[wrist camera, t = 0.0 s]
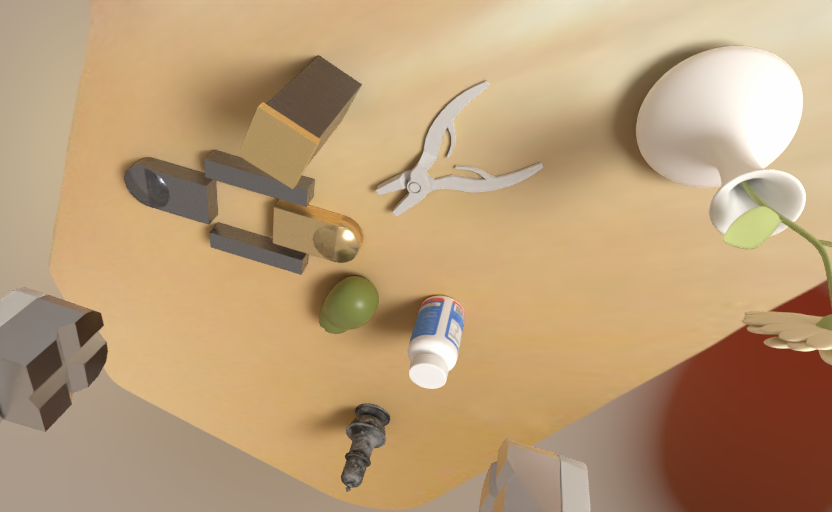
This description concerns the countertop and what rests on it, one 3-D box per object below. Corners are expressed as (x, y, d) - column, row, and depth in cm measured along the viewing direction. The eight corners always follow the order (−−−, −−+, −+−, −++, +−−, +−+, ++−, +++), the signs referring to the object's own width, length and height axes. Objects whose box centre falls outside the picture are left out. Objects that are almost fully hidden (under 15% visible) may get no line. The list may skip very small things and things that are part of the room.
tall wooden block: (297, 95, 50) (237, 155, 41) (317, 52, 47) (257, 106, 38) (341, 124, 51) (292, 189, 42) (364, 84, 48) (316, 144, 39)
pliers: (544, 174, 48) (414, 239, 56) (544, 165, 49) (418, 230, 57) (483, 82, 44) (353, 166, 52) (485, 76, 45) (358, 158, 53)
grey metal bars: (314, 179, 55) (307, 189, 54) (307, 263, 63) (301, 274, 62) (127, 124, 56) (115, 132, 55) (143, 213, 64) (132, 223, 63)
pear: (377, 322, 59) (339, 352, 66) (393, 286, 62) (355, 318, 69) (334, 295, 57) (300, 327, 65) (353, 259, 61) (319, 294, 68)
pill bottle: (415, 318, 65) (395, 382, 58) (426, 287, 61) (406, 352, 54) (459, 333, 65) (444, 399, 57) (472, 303, 61) (458, 369, 54)
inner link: (366, 222, 57) (360, 233, 56) (360, 256, 61) (354, 267, 59) (281, 197, 58) (273, 207, 56) (280, 232, 61) (272, 243, 60)
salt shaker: (384, 432, 82) (361, 508, 73) (349, 416, 81) (321, 492, 72) (397, 413, 78) (374, 491, 69) (360, 397, 77) (332, 473, 68)
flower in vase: (606, 141, 46) (630, 364, 27) (697, 11, 39) (817, 194, 20) (739, 203, 47) (852, 463, 28) (853, 88, 40) (1112, 335, 21)
